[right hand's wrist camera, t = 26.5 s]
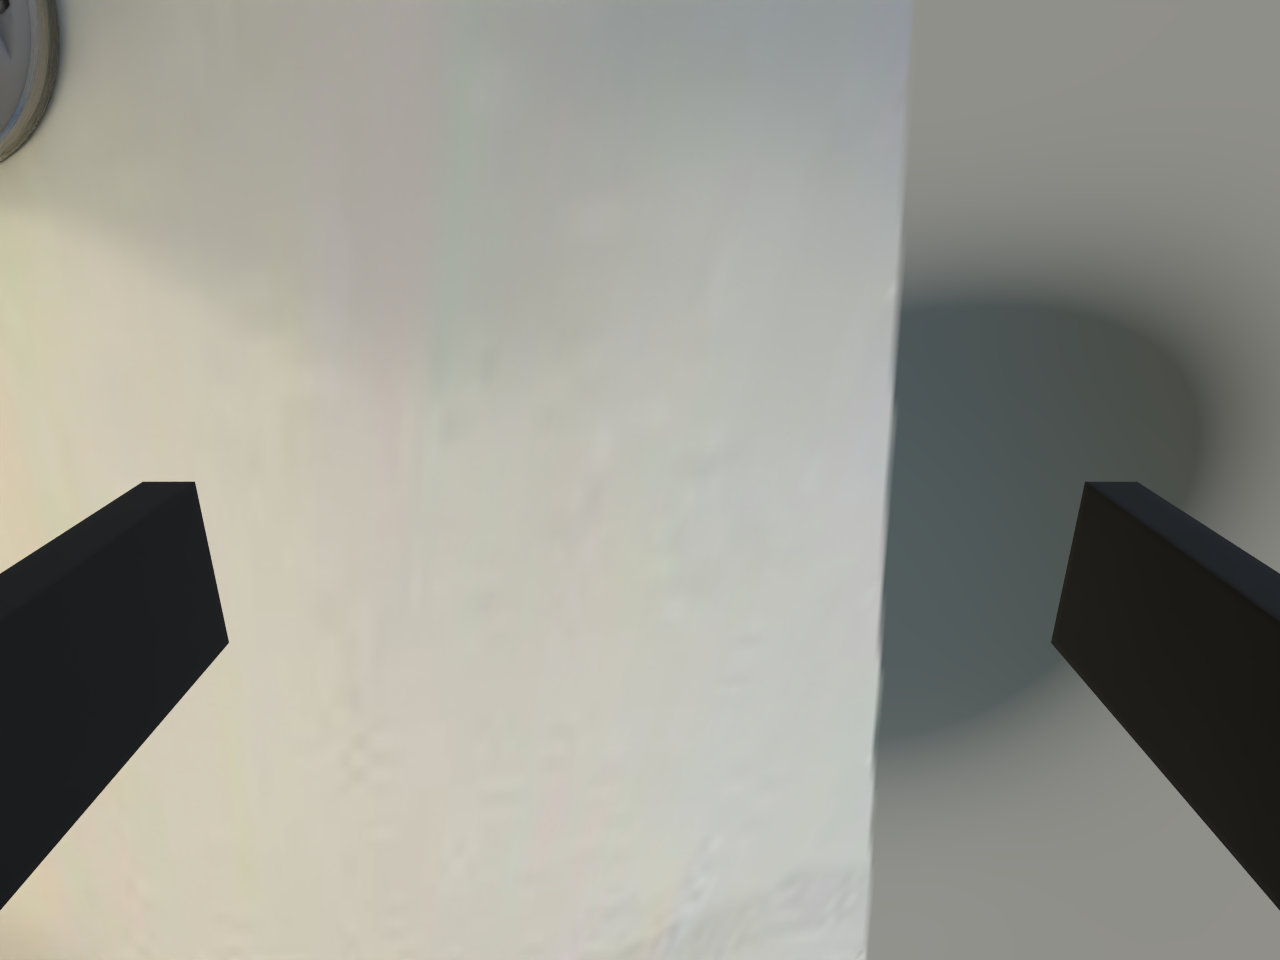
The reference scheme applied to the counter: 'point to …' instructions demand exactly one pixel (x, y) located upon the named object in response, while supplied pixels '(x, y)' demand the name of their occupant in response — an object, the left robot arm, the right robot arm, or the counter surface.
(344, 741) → the counter surface
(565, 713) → the counter surface
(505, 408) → the counter surface
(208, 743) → the counter surface
